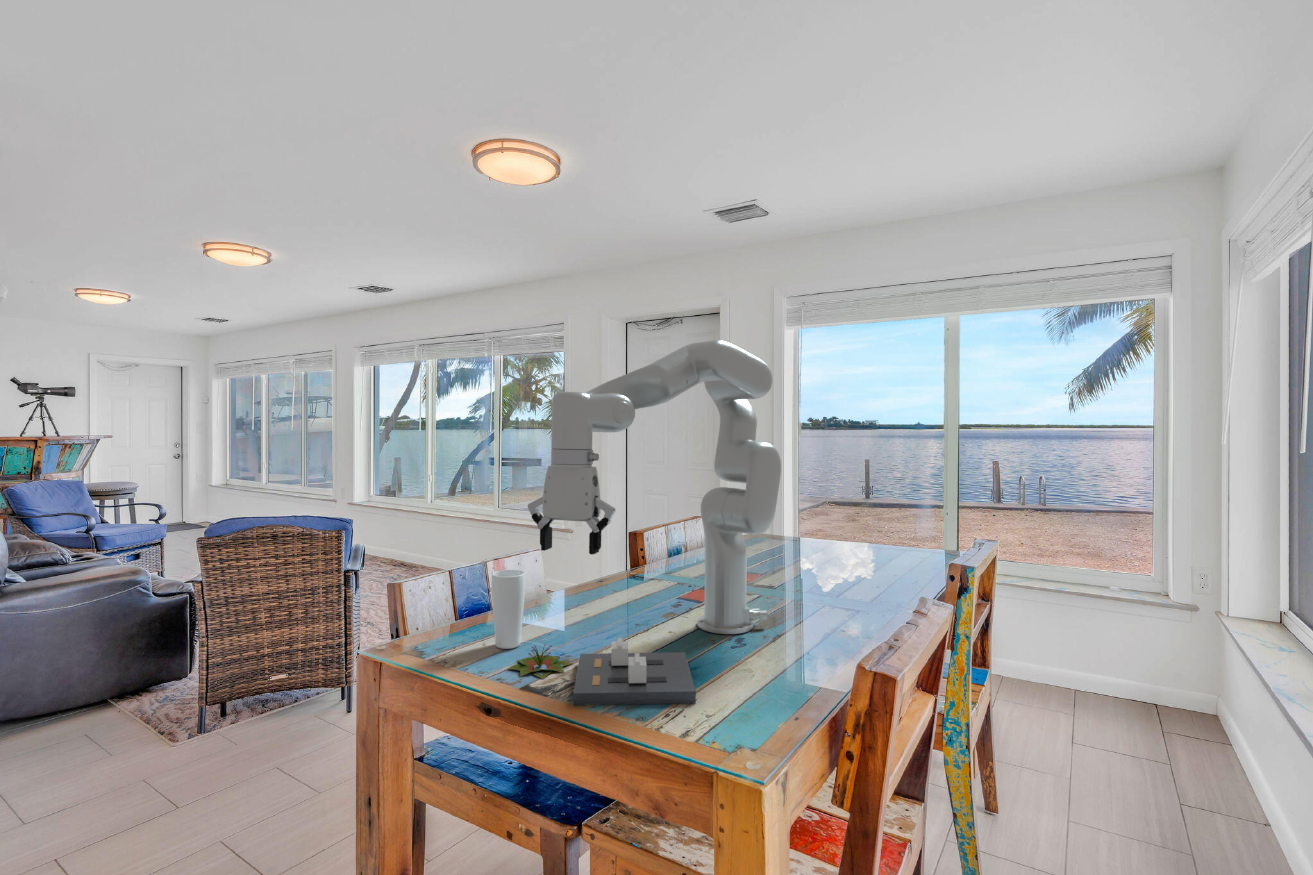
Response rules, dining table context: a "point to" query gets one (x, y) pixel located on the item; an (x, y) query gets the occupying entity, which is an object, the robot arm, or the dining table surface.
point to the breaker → (619, 652)
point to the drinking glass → (508, 607)
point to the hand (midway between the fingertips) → (570, 551)
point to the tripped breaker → (637, 669)
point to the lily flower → (539, 663)
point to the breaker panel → (612, 687)
